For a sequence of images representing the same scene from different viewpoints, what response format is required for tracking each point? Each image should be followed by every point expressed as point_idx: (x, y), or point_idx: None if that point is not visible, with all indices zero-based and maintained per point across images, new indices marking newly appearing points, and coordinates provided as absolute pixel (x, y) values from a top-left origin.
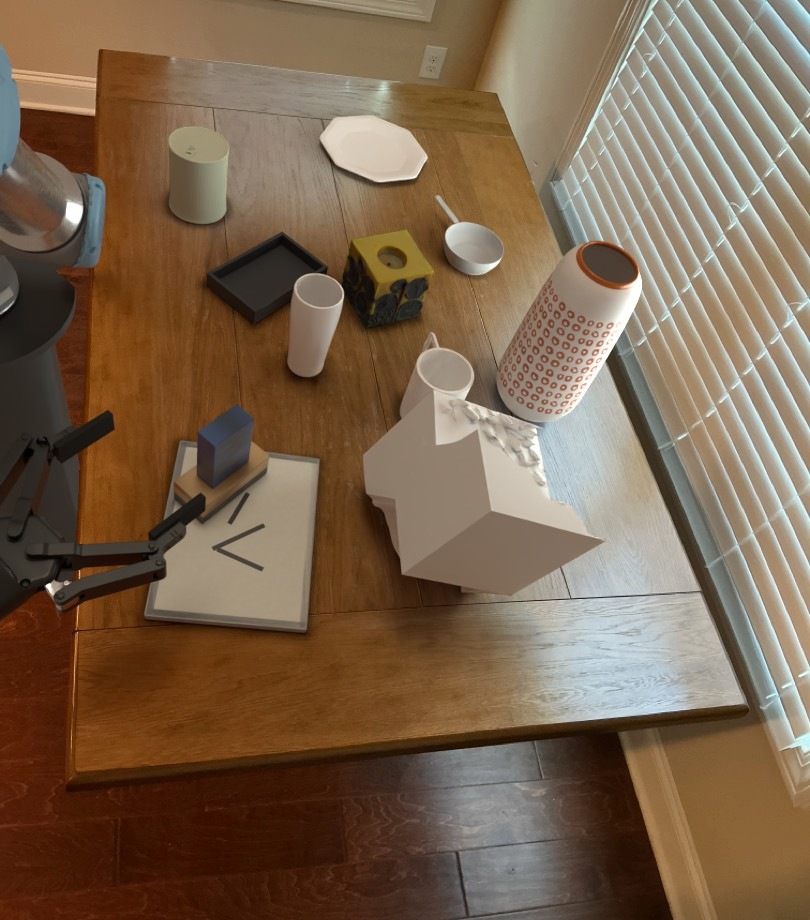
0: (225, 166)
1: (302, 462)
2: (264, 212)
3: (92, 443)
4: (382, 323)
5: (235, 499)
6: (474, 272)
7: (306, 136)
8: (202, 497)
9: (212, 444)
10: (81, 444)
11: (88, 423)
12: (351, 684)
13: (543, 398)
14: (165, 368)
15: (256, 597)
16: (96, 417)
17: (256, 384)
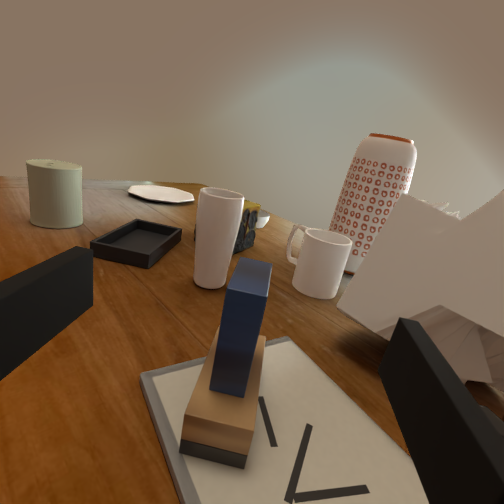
0: (81, 178)
1: (278, 344)
2: (112, 219)
3: (47, 340)
4: (237, 250)
5: None
6: (260, 225)
7: (117, 194)
8: (416, 323)
9: (261, 295)
10: (16, 339)
11: (33, 269)
12: None
13: None
14: (79, 316)
15: None
16: (52, 258)
17: (181, 304)
